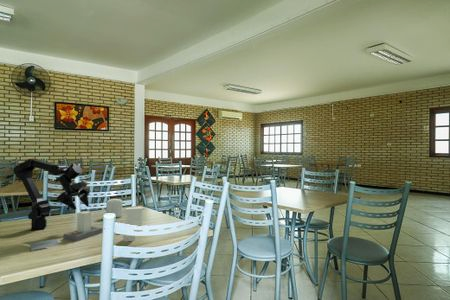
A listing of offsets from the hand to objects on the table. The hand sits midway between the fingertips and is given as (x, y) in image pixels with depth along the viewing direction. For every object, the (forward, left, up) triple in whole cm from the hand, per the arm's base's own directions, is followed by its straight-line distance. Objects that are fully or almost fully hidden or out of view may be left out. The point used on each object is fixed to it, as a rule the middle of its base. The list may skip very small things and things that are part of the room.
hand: (82, 207), depth 148 cm
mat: (-14, -16, -14) cm, 25 cm away
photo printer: (+17, +32, -14) cm, 39 cm away
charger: (+2, -7, -13) cm, 15 cm away
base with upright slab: (+27, -1, -14) cm, 30 cm away
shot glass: (+23, -21, -14) cm, 34 cm away
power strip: (+2, -7, -14) cm, 16 cm away
